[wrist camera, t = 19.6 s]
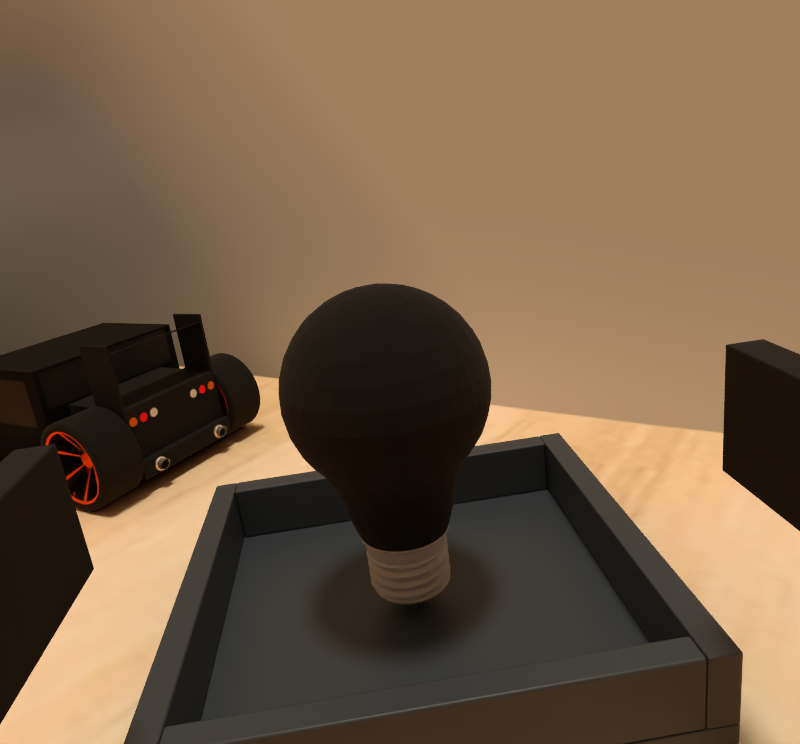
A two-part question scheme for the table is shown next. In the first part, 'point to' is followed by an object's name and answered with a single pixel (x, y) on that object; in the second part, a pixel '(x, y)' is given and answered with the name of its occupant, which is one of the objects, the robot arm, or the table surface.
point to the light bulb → (389, 422)
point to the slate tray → (440, 624)
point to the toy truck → (122, 402)
